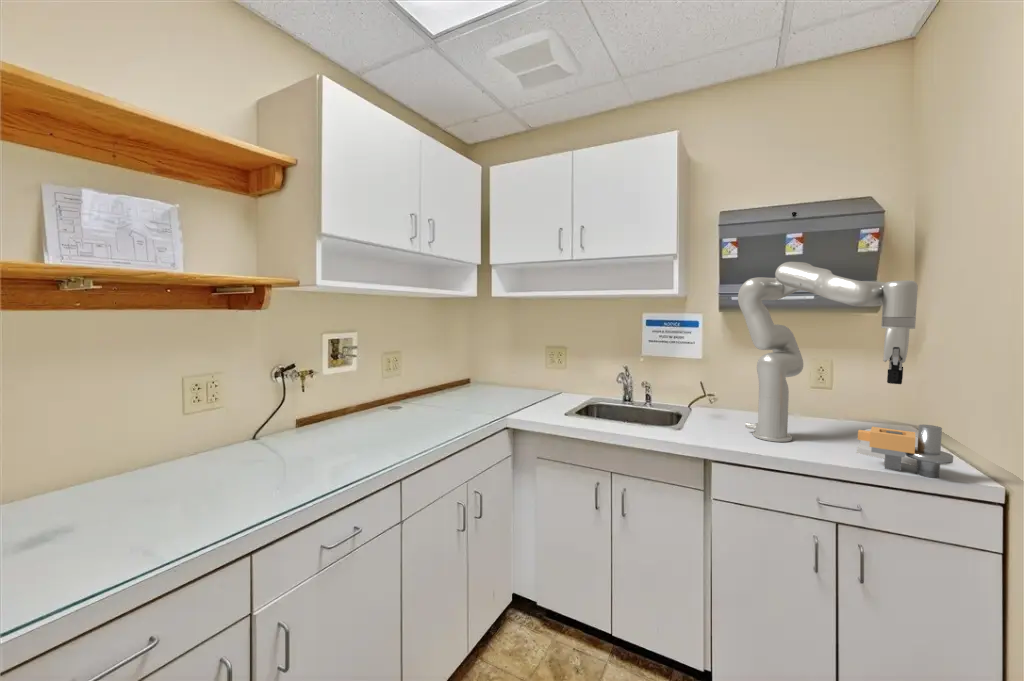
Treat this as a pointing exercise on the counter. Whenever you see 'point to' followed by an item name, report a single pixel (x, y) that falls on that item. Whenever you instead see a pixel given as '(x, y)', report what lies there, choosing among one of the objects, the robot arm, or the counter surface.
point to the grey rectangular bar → (893, 458)
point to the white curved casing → (866, 450)
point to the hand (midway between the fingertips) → (894, 381)
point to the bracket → (889, 439)
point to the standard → (925, 452)
